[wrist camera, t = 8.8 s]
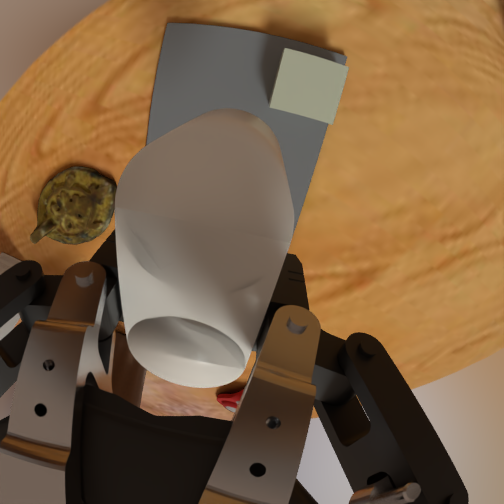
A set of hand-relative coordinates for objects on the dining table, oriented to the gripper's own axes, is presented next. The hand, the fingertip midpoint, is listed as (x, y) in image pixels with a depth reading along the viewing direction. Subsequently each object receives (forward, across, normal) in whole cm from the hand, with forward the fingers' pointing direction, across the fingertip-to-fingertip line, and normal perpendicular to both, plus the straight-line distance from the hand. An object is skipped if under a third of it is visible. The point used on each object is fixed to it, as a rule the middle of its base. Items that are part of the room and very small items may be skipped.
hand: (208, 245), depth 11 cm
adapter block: (+17, -4, -7) cm, 18 cm away
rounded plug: (+1, 0, +1) cm, 1 cm away
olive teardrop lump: (+18, +19, +10) cm, 28 cm away
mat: (+17, +1, 0) cm, 17 cm away
